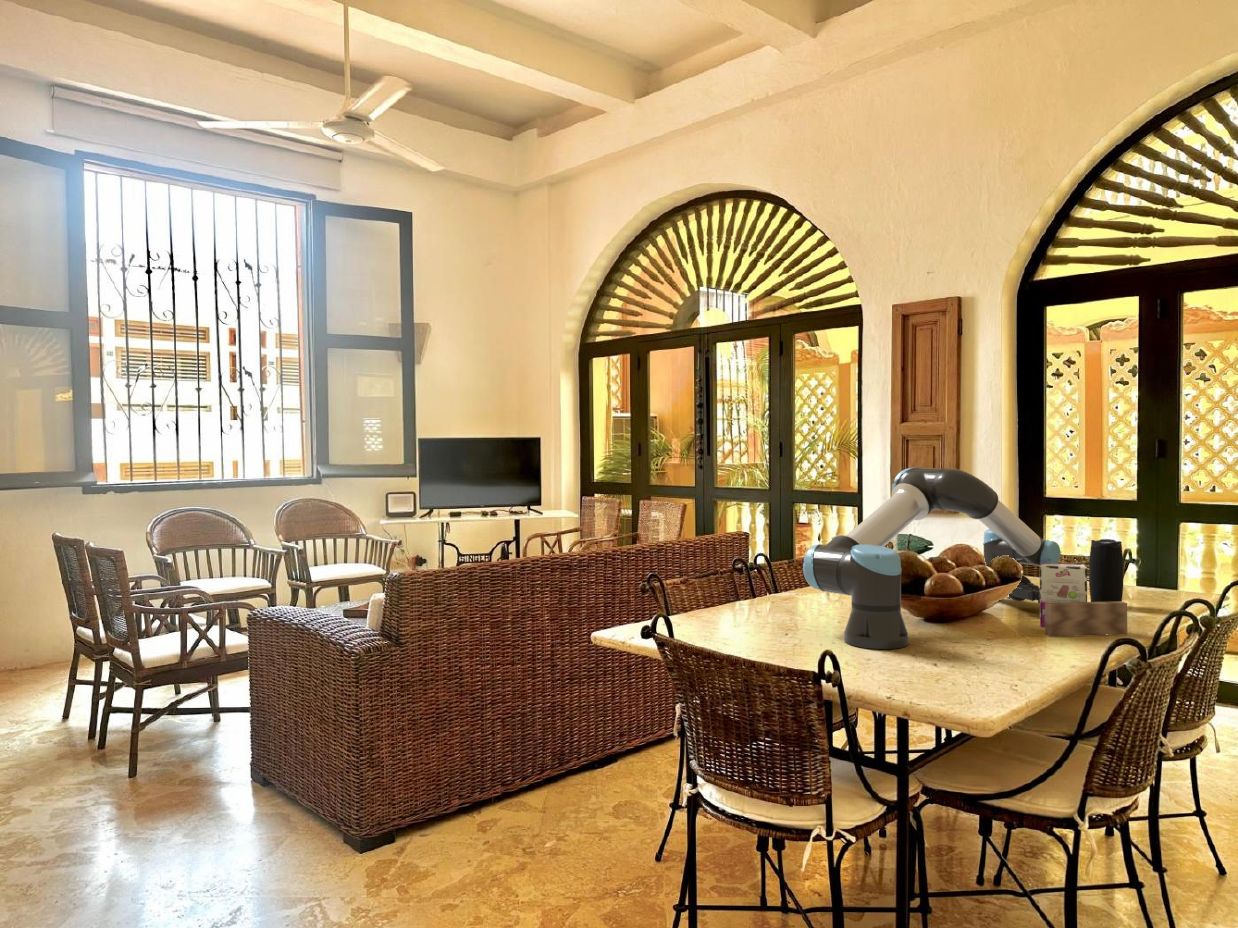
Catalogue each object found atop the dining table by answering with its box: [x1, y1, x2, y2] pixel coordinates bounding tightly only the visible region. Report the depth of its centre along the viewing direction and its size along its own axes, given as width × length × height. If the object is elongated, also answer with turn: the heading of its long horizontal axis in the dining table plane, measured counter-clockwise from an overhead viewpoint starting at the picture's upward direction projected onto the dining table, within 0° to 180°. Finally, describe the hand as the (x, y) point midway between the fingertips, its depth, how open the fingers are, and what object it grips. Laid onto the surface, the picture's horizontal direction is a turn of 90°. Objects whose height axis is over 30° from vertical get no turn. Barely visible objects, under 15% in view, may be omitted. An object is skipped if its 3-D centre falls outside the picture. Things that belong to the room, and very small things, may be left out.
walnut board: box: [1044, 600, 1128, 637], centre depth 219 cm, size 20×2×8 cm, turn 94°
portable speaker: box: [1088, 538, 1124, 602], centre depth 254 cm, size 9×9×20 cm
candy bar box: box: [1039, 563, 1088, 628], centre depth 228 cm, size 11×5×16 cm, turn 65°
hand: (1059, 600), depth 231 cm, fingers closed
